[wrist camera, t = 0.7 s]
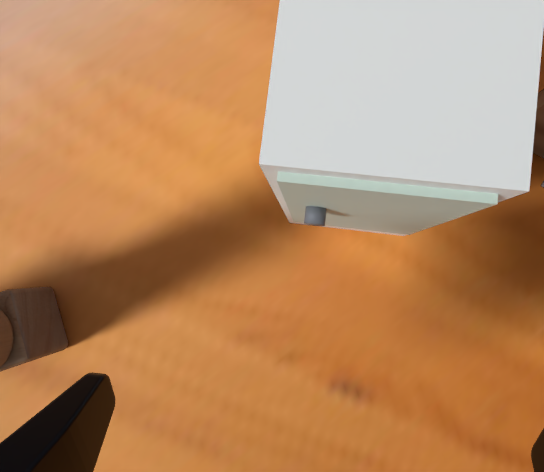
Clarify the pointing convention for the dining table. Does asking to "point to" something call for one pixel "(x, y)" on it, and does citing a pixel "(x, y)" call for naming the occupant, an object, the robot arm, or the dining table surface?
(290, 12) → the white notched pillar
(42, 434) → the robot arm
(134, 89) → the dining table surface
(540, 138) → the wall board
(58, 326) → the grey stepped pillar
